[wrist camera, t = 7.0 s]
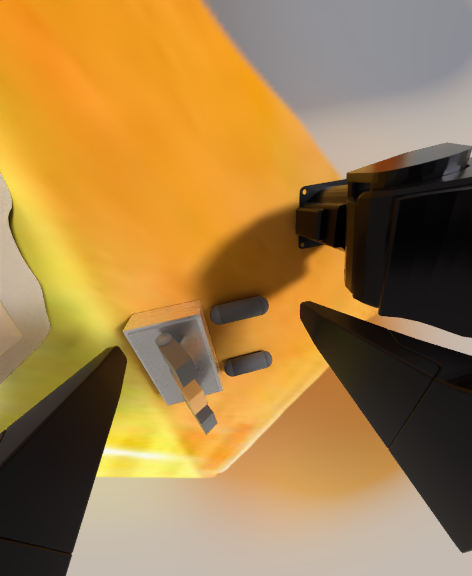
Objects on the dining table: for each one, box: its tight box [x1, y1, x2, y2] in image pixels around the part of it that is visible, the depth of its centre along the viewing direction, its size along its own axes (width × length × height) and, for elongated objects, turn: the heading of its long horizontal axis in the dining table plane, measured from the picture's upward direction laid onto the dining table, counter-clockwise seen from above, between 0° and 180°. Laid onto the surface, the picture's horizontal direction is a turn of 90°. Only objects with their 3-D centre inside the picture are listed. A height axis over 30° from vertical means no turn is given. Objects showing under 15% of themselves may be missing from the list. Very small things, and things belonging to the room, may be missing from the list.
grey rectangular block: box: [155, 333, 199, 388], centre depth 17 cm, size 2×3×5 cm
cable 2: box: [224, 351, 272, 377], centre depth 26 cm, size 7×2×2 cm, turn 98°
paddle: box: [182, 394, 217, 435], centre depth 21 cm, size 2×3×5 cm
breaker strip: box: [122, 300, 223, 405], centre depth 23 cm, size 8×14×3 cm, turn 8°
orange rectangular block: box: [170, 369, 208, 415], centre depth 19 cm, size 2×3×5 cm, turn 9°
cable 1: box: [210, 296, 269, 325], centre depth 22 cm, size 7×2×2 cm, turn 98°
